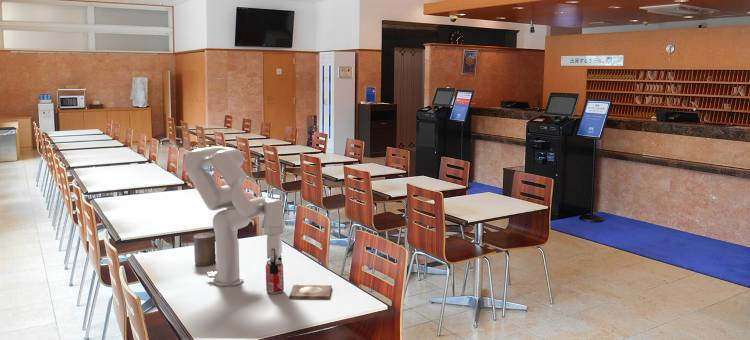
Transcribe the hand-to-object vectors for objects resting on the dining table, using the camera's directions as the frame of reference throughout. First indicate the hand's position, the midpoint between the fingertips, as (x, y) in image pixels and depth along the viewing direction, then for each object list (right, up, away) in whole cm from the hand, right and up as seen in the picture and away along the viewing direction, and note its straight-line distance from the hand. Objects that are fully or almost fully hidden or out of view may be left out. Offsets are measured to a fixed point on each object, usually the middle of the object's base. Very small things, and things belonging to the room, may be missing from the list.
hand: (276, 270), depth 263 cm
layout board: (+14, -9, 0) cm, 17 cm away
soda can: (-1, -9, +2) cm, 10 cm away
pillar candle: (-40, -3, +40) cm, 56 cm away
